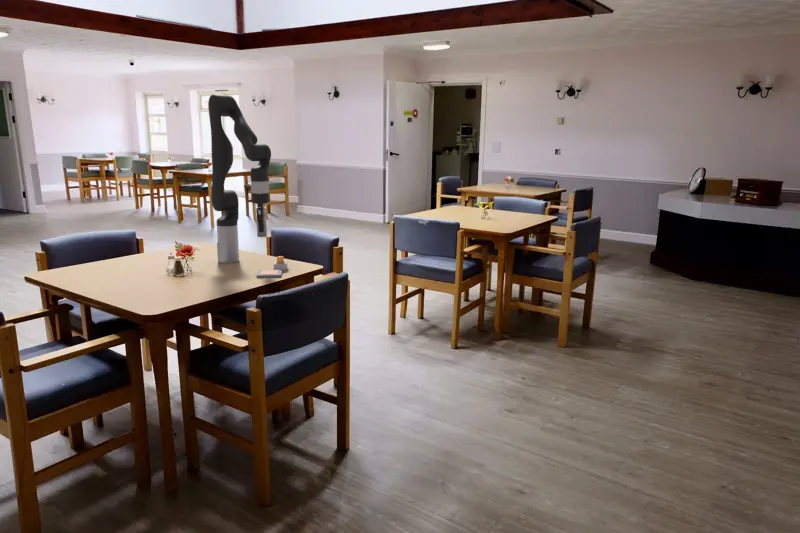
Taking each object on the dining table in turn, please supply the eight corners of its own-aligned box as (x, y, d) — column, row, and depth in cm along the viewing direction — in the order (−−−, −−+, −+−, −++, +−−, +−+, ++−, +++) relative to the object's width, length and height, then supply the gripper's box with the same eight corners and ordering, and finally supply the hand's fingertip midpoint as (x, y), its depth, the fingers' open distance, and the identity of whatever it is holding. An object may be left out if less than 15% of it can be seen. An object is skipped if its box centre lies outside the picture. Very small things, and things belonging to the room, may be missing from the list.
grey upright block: (256, 237, 244) (255, 216, 242) (257, 235, 248) (256, 215, 246) (266, 237, 245) (265, 216, 242) (267, 235, 249) (266, 215, 247)
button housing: (273, 270, 249) (273, 264, 248) (274, 267, 254) (274, 261, 253) (286, 270, 250) (286, 263, 249) (287, 267, 255) (287, 261, 254)
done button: (276, 264, 250) (276, 257, 249) (277, 262, 252) (277, 256, 252) (283, 264, 250) (283, 257, 249) (284, 262, 253) (283, 256, 252)
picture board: (256, 277, 236) (256, 275, 236) (258, 272, 246) (258, 269, 245) (281, 277, 238) (280, 274, 237) (282, 271, 247) (282, 269, 247)
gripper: (252, 190, 248) (254, 228, 252) (249, 193, 234) (251, 234, 238) (270, 190, 249) (271, 228, 253) (267, 193, 236) (269, 234, 239)
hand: (261, 231), depth 246 cm, fingers closed on grey upright block, 4 cm apart
